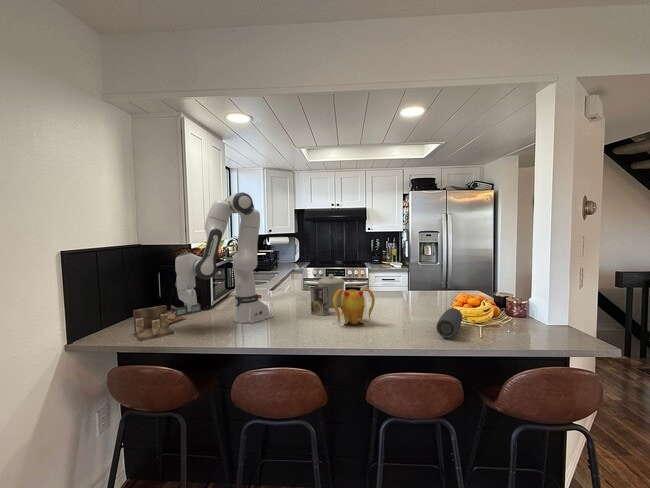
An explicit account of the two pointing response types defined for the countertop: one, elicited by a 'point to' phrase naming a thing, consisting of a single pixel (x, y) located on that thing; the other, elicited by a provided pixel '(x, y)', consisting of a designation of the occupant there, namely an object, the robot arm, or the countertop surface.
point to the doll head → (352, 306)
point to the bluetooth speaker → (449, 322)
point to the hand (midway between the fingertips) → (188, 310)
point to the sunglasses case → (174, 319)
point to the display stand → (151, 323)
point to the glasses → (183, 310)
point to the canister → (332, 288)
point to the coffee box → (319, 300)
